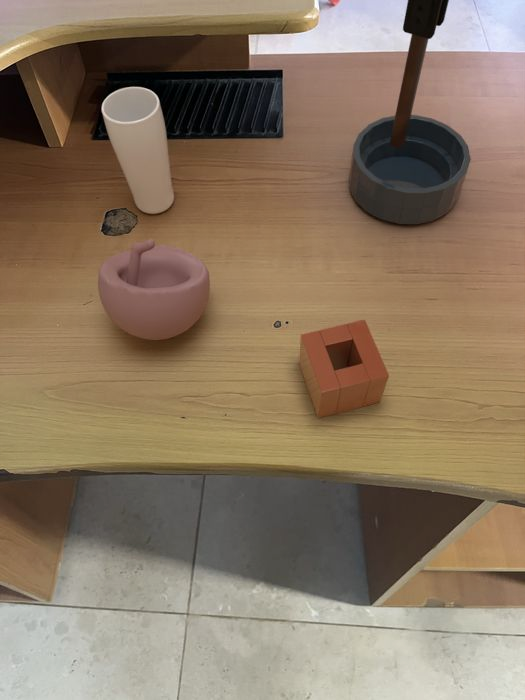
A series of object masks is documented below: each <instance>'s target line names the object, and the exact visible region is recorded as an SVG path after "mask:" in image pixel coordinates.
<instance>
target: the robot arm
mask: <svg viewBox="0 0 525 700" xmlns="http://www.w3.org/2000/svg"><path fill="white" fill-rule="evenodd" d="M449 3H450V0H407V4H406V9H405V15H404V20H403V25H402V31H403V32H404V33H406V34H409V35H412V34H413V35H416V36H420V37H423V38H427V39H428V40H431V39H433V37H434V36H435V33H436V29H437V27H440V26H442V25H443V23H444V21H445V18H446V13H447V9H448V5H449Z"/></svg>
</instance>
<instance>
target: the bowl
mask: <svg viewBox="0 0 525 700" xmlns="http://www.w3.org/2000/svg"><path fill="white" fill-rule="evenodd" d="M394 119H395V115H390V116H386V117H381V118H379V119H376V120H375V121H372V122H371V123H368V124H367V125H366V126H365V127H364V128H363V129H362V130H361V131H360V132H359V133H358V134H357V136H356V138H355V140H354V142H353V145H352V151H351V152H352V153H351V160H350V167H349V175H348V185H349V187H348V188H349V191H350V192H351V195H352V198H353V199H354V201H355V202H356V203H357V204H358V205H359V206H360V207H361V208H362V210H364V211H365V212H366V213H368V214H369V215H370V214H371V215H372V216H374V217H376V218H378V219H380V220H382V221H386V222H390V223H394V224H399V225H420V224H425V223H429V222H433V221H435V220H437V219H439V218H440V217H442V216H444V215H447V214H448V213H449V211H451V209H452V208H453V207H454V206H455V205H456V203H457V201H458V199H459V196H460V193H461V190H462V187H463V185H464V182H465V179H466V176H467V173H468V170H469V167H470V164H471V160H472V159H471V152H470V148H469V145H468V143H467V142H466V141H465V139H464V137H463V136H462V135H461V134H460V133H459V132H458V131H456V130H455V129H453V128H452V127H451V126H450V125H448V124H446V123H443V122H442V121H439V120H437V119H435V118H432V117H428V116H422V115H418V114H411V118H410V122H409V126H408V131H407V135H406V139H405V144H404V145H403V146H402V147H393V146H392V145H391V144H390V139H391V134H392V129H393V124H394Z"/></svg>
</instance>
